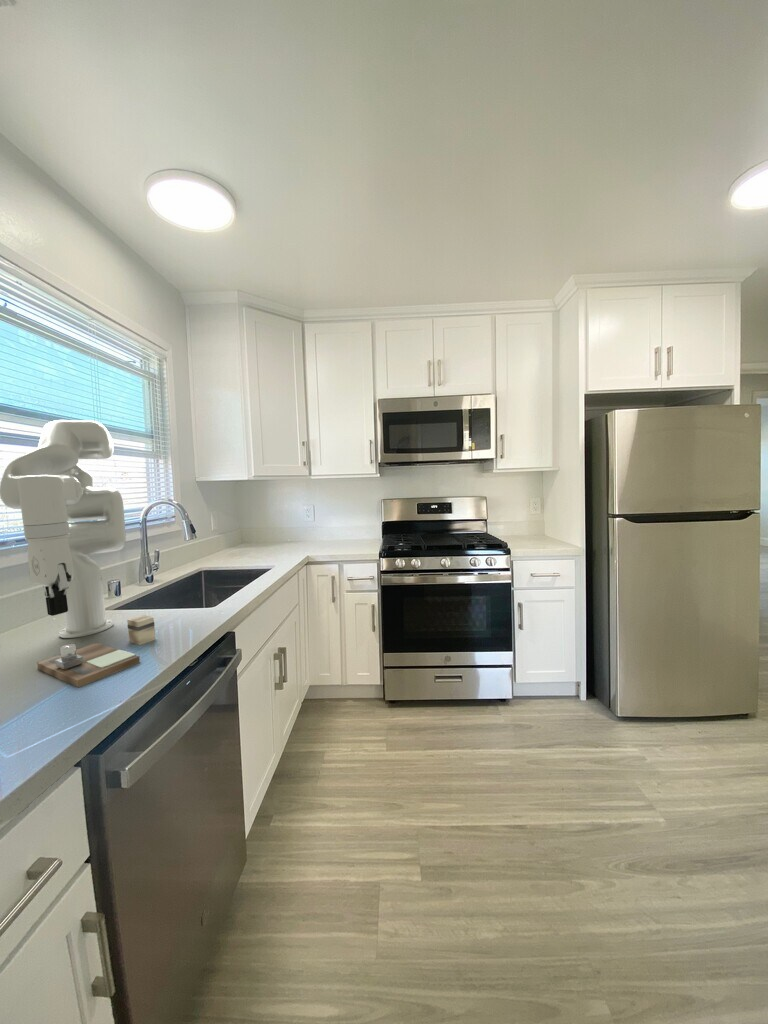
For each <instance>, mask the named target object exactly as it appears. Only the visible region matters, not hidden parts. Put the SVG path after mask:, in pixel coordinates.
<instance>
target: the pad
mask: <svg viewBox="0 0 768 1024" xmlns="http://www.w3.org/2000/svg"><path fill="white" fill-rule="evenodd" d="M135 655H137V654H136V653H133V652H129V651H126V650H123V649H118V650H117V651H114V652H111V653H109V654H106V655H103V656H100V657H98V658H95V659H92V660H89V661H86V663H89V664H91V665H94V666H97V667H99V668H104V667H106V666H109V665H112V664H114V663H117V662H119V661H122V660H125V659H127V658H130V657H132V656H135Z"/></svg>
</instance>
